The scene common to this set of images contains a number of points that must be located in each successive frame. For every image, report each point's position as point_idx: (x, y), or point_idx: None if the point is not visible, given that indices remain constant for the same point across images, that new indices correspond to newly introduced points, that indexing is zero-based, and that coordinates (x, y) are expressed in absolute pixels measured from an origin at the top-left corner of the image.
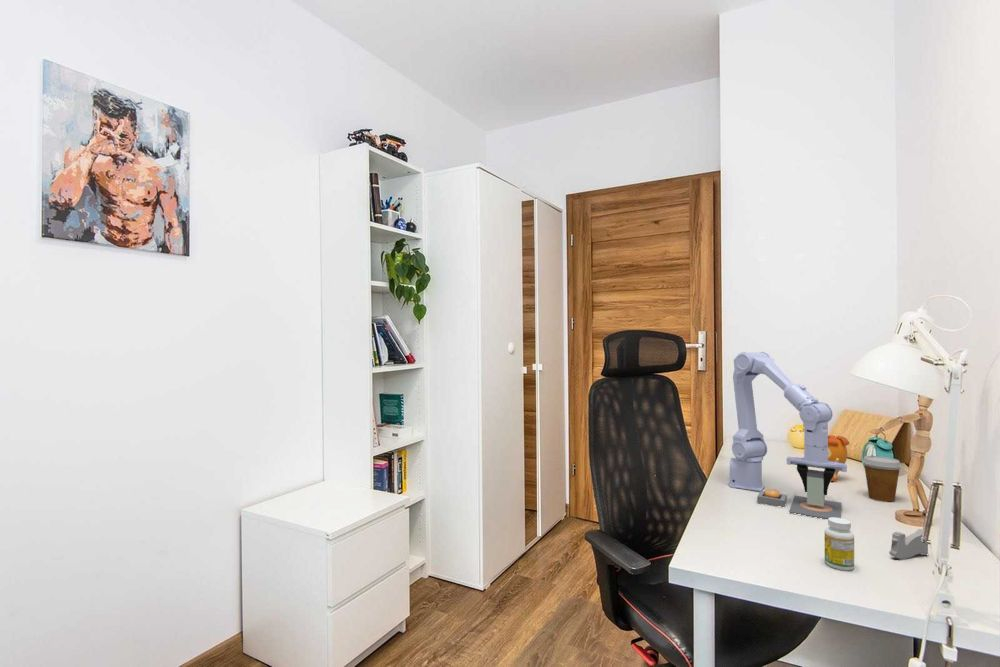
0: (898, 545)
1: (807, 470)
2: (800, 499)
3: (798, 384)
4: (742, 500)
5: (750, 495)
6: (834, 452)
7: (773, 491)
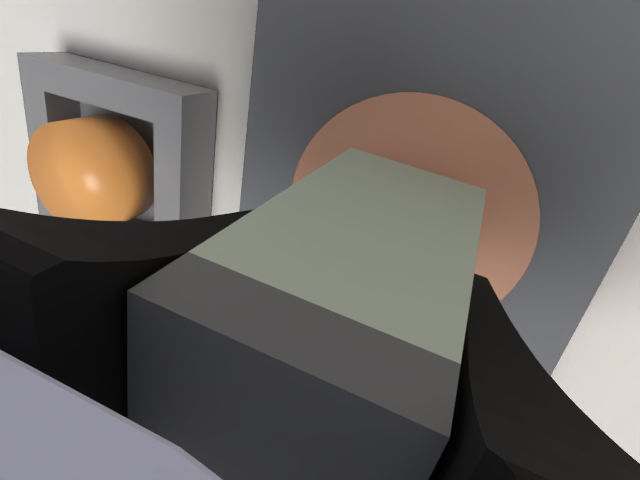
0: None
1: (126, 350)
2: (311, 19)
3: None
4: (15, 182)
5: (13, 36)
6: None
7: (80, 193)
